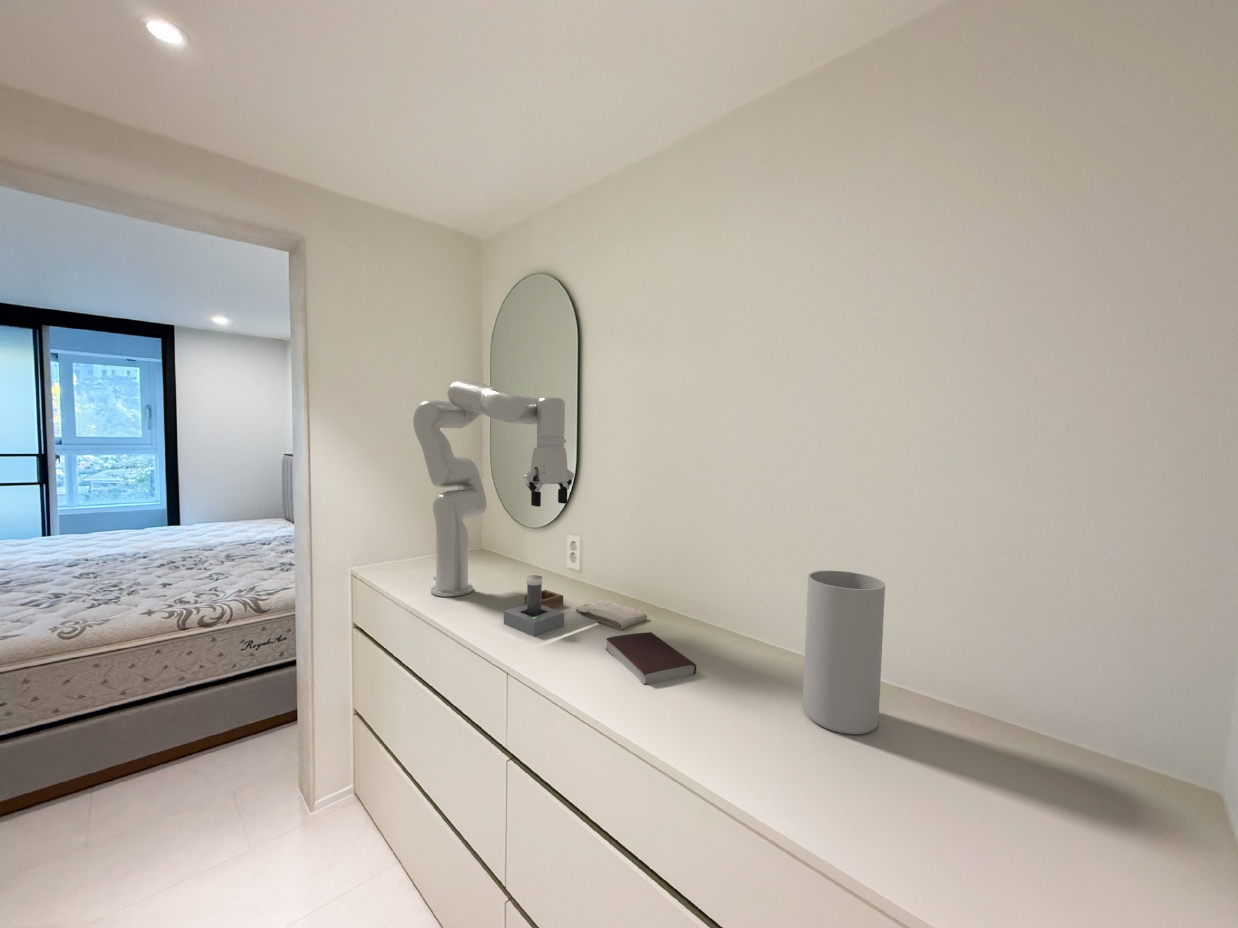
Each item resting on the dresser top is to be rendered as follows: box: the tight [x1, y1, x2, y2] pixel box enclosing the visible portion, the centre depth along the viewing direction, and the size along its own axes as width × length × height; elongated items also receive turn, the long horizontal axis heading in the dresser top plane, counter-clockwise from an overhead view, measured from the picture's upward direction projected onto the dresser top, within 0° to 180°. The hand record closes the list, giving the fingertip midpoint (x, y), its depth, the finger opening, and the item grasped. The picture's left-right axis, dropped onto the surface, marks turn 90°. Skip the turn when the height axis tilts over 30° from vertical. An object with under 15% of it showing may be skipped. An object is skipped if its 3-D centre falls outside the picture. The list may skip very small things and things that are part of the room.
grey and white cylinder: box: [526, 574, 543, 617], centre depth 133 cm, size 4×4×12 cm
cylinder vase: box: [802, 570, 886, 735], centre depth 93 cm, size 12×12×25 cm
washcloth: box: [574, 598, 648, 631], centre depth 143 cm, size 12×18×3 cm, turn 50°
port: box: [503, 604, 565, 637], centre depth 133 cm, size 12×10×4 cm
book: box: [605, 631, 697, 686], centre depth 115 cm, size 12×19×3 cm, turn 25°
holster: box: [524, 589, 564, 609], centre depth 149 cm, size 8×8×4 cm
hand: (549, 504), depth 144 cm, fingers open, 9 cm apart
